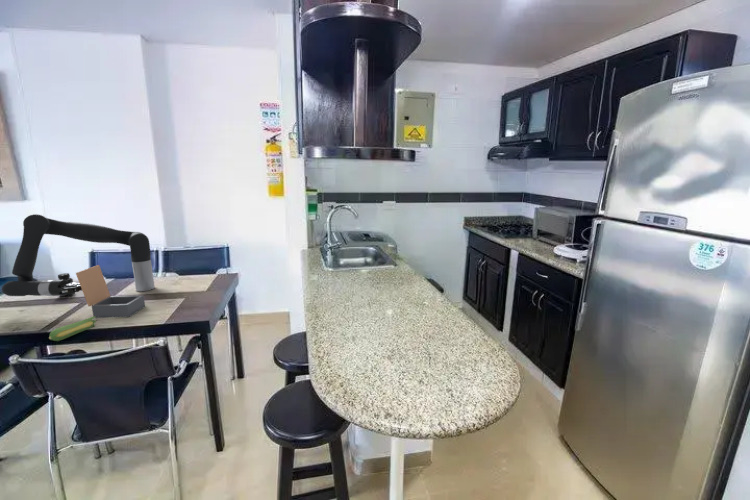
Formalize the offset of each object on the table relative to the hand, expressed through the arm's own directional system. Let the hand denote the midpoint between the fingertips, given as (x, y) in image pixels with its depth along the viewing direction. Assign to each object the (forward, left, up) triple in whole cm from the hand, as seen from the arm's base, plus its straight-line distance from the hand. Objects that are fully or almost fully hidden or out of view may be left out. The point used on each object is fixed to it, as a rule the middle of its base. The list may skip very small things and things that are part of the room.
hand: (92, 287), depth 168 cm
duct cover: (+1, +1, +1) cm, 2 cm away
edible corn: (+22, -7, -13) cm, 27 cm away
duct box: (+6, +9, -13) cm, 17 cm away
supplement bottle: (-42, -12, -13) cm, 45 cm away
